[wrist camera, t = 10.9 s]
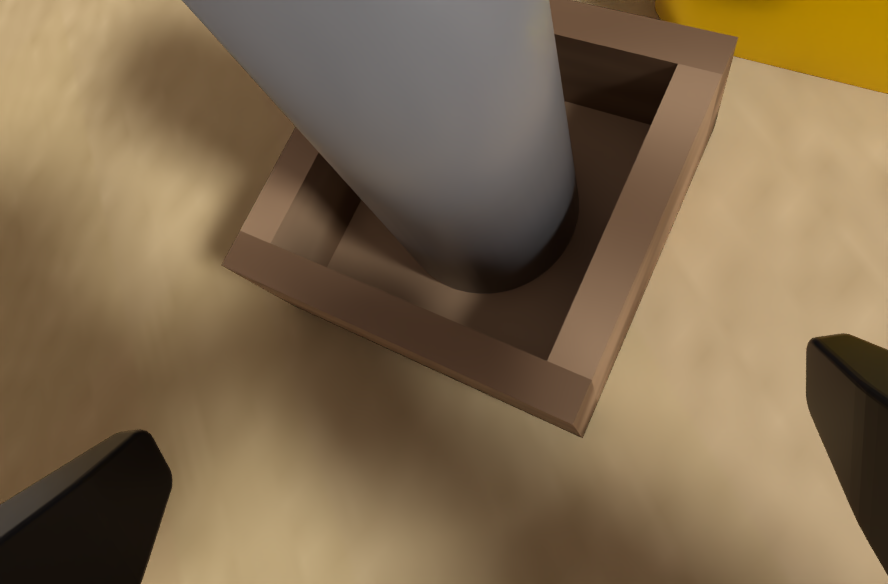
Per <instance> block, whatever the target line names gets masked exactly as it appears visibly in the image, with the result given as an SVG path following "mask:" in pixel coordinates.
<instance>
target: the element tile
mask: <svg viewBox="0 0 888 584" xmlns="http://www.w3.org/2000/svg"><path fill="white" fill-rule="evenodd" d="M655 10H656V12H657V14H658V15H659V17H660V19H661V20H662V21H667V22H671V23H676V24H681V25H685V26H690V27H694V28H699V29H703V30H708V31H712V32H717V33H721V34H726V35H731V36H735V37H738V40H737V44H736V48H735V51H734V55H733V56H736V57H740V58H744V59H748V60H752V61H756V62H760V63H764V64H768V65H772V66H776V67H780V68H784V69H789V70H793V71H797V72H801V73H805V74H809V75H813V76H817V77H821V78H825V79H829V80H833V81H837V82H842V83H846V84H850V85H854V86H858V87H862V88H866V89H870V90H874V91H878V92H882V93H886V94H888V0H655Z"/></svg>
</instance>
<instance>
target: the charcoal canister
mask: <svg viewBox="0 0 888 584" xmlns="http://www.w3.org/2000/svg"><path fill="white" fill-rule="evenodd" d="M182 1H183V2H184V3H185V4H186V5H187V6H188V7H189V8H190V10H191V11H192V12H193V13H194V14H195V15H196V16H197V17H198V18H199V20H200V21H201V22H202V23H203V24H204V25H205V26H206V27H207V28H208V30H209V31H210V32H211V33H212V34H213V35H214V36H215V37H216V38H217V40H218V41H219V42H220V43H221V44H222V45H223V46H224V47H225V49H226V50H227V51H228V52H229V53H230V54H231V55H232V56H233V57H234V59H235V60H236V61H237V62H238V63H239V64H240V65H241V66H242V67H243V69H244V70H245V71H246V72H247V73H248V74H249V75H250V76H251V77H252V79H253V80H254V81H255V82H256V83H257V84H258V85H259V86H260V87H261V89H262V90H263V91H264V92H265V93H266V94H267V95H268V96H269V97H270V99H271V100H272V101H273V102H274V103H275V104H276V105H277V106H278V107H279V109H280V110H281V111H282V112H283V113H284V114H285V115H286V116H287V117H288V119H289V120H290V121H291V122H292V123H293V124H294V125H295V126H296V127H297V129H298V130H299V131H300V132H301V133H302V134H303V135H304V136H305V137H306V139H307V140H308V141H309V142H310V143H311V144H312V145H313V146H314V147H315V149H316V150H317V151H318V152H319V153H320V154H321V155H322V156H323V157H324V159H325V160H326V161H327V162H328V163H329V164H330V165H331V166H332V167H333V169H334V170H335V171H336V172H337V173H338V174H339V175H340V176H341V177H342V179H343V180H344V181H345V182H346V183H347V184H348V185H349V186H350V187H351V189H352V190H353V191H354V192H355V193H356V194H357V195H358V196H359V197H360V199H361V200H362V201H363V202H364V203H365V204H366V205H367V206H368V207H369V209H370V210H371V211H372V212H373V213H374V214H375V215H376V216H377V217H378V219H379V220H380V221H381V222H382V223H383V224H384V225H385V226H386V227H387V229H388V230H389V231H390V232H391V233H392V234H393V235H394V236H395V237H396V239H397V240H398V241H399V242H400V243H401V244H402V245H403V246H404V247H405V249H406V250H407V251H408V252H409V253H410V254H411V255H412V256H413V257H414V259H415V260H416V261H417V262H418V263H419V264H420V265H421V266H422V267H423V268H424V269H425V270H426V271H427V273H428V274H430V275H431V276H432V277H434V278H435V279H436V280H438V281H439V282H441V283H443V284H445V285H446V286H449V287H451V288H454V289H456V290H460V291H464V292H469V293H478V294H491V293H498V292H504V291H508V290H511V289H515V288H517V287H520V286H522V285H525V284H527V283H529V282H530V281H532V280H534V279H536V278H537V277H539V276H540V275H541V274H543V273H544V272H545V271H547V270H548V269H549V268H550V267H551V266H552V265H553V264H554V263H555V262H556V261H557V260H558V258H559V257H560V256H561V255H562V253H563V252H564V250H565V249H566V247H567V245H568V244H569V242H570V240H571V238H572V235H573V233H574V230H575V227H576V224H577V219H578V212H579V196H578V189H577V182H576V176H575V169H574V162H573V156H572V149H571V142H570V136H569V129H568V122H567V116H566V109H565V102H564V96H563V89H562V82H561V76H560V69H559V62H558V56H557V49H556V42H555V36H554V29H553V22H552V16H551V9H550V2H549V0H182Z"/></svg>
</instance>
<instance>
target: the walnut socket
mask: <svg viewBox="0 0 888 584" xmlns="http://www.w3.org/2000/svg"><path fill="white" fill-rule="evenodd" d="M549 2H550V9H551V16H552V22H553V29H554V36H555V42H556V49H557V56H558V62H559V69H560V76H561V82H562V89H563V96H564V102H565V109H566V116H567V122H568V129H569V136H570V142H571V149H572V156H573V162H574V169H575V176H576V182H577V189H578V196H579V212H578V219H577V224H576V227H575V230H574V233H573V235H572V238H571V240H570V242H569V244H568V245H567V247H566V249H565V250H564V252H563V253H562V255H561V256H560V257H559V258H558V260H557V261H556V262H555V263H554V264H553V265H552V266H551V267H550V268H549V269H548V270H547V271H545V272H544V273H543V274H541V275H540V276H539V277H537V278H536V279H534V280H532V281H530V282H529V283H527V284H525V285H522V286H520V287H517V288H515V289H511V290H508V291H504V292H498V293H491V294H478V293H469V292H464V291H460V290H456V289H454V288H451V287H449V286H446V285H445V284H443V283H441V282H439V281H438V280H436V279H435V278H434V277H432V276H431V275H430V274H428V273H427V271H426V270H425V269H424V268H423V267H422V266H421V265H420V264H419V263H418V262H417V261H416V260H415V259H414V257H413V256H412V255H411V254H410V253H409V252H408V251H407V250H406V249H405V247H404V246H403V245H402V244H401V243H400V242H399V241H398V240H397V239H396V237H395V236H394V235H393V234H392V233H391V232H390V231H389V230H388V229H387V227H386V226H385V225H384V224H383V223H382V222H381V221H380V220H379V219H378V217H377V216H376V215H375V214H374V213H373V212H372V211H371V210H370V209H369V207H368V206H367V205H366V204H365V203H364V202H363V201H362V200H361V199H360V197H359V196H358V195H357V194H356V193H355V192H354V191H353V190H352V189H351V187H350V186H349V185H348V184H347V183H346V182H345V181H344V180H343V179H342V177H341V176H340V175H339V174H338V173H337V172H336V171H335V170H334V169H333V167H332V166H331V165H330V164H329V163H328V162H327V161H326V160H325V159H324V157H323V156H322V155H321V154H320V153H319V152H318V151H317V150H316V149H315V147H314V146H313V145H312V144H311V143H310V142H309V141H308V140H307V139H306V137H305V136H304V135H303V134H302V133H301V132H300V131H299V130H298V129H297V127H295V129H294V131H293V133H292V135H291V137H290V138H289V140H288V142H287V144H286V146H285V148H284V150H283V151H282V153H281V155H280V157H279V159H278V161H277V163H276V164H275V166H274V168H273V170H272V172H271V174H270V176H269V177H268V179H267V181H266V183H265V185H264V187H263V189H262V191H261V192H260V194H259V196H258V198H257V200H256V202H255V204H254V205H253V207H252V209H251V211H250V213H249V215H248V217H247V218H246V220H245V222H244V224H243V226H242V228H241V230H240V231H239V233H238V235H237V237H236V239H235V241H234V243H233V244H232V246H231V248H230V250H229V252H228V254H227V256H226V257H225V259H224V261H223V263H222V266H224V267H226V268H227V269H229V270H231V271H233V272H235V273H236V274H238V275H240V276H242V277H243V278H245V279H247V280H249V281H251V282H252V283H254V284H256V285H258V286H260V287H261V288H263V289H265V290H267V291H269V292H270V293H272V294H274V295H276V296H278V297H279V298H281V299H283V300H285V301H287V302H288V303H290V304H292V305H294V306H296V307H298V308H300V309H302V310H305V311H307V312H309V313H311V314H313V315H316V316H318V317H320V318H322V319H324V320H326V321H329V322H331V323H333V324H335V325H337V326H340V327H342V328H344V329H346V330H348V331H350V332H353V333H355V334H357V335H359V336H361V337H364V338H366V339H368V340H370V341H372V342H374V343H377V344H379V345H381V346H383V347H385V348H387V349H390V350H392V351H394V352H396V353H398V354H401V355H403V356H405V357H407V358H409V359H411V360H414V361H416V362H418V363H420V364H422V365H425V366H427V367H429V368H431V369H433V370H435V371H438V372H440V373H442V374H444V375H446V376H449V377H451V378H453V379H455V380H457V381H459V382H462V383H464V384H466V385H468V386H470V387H473V388H475V389H477V390H479V391H481V392H483V393H486V394H488V395H490V396H492V397H494V398H496V399H499V400H501V401H503V402H505V403H507V404H510V405H512V406H514V407H516V408H518V409H520V410H523V411H525V412H527V413H529V414H531V415H534V416H536V417H538V418H540V419H542V420H544V421H547V422H549V423H551V424H553V425H555V426H558V427H560V428H562V429H564V430H566V431H568V432H571V433H573V434H575V435H577V436H579V437H582V438H583V436H584V433H585V431H586V429H587V426H588V424H589V422H590V419H591V417H592V415H593V412H594V410H595V408H596V405H597V403H598V400H599V398H600V396H601V393H602V391H603V389H604V386H605V384H606V382H607V379H608V377H609V374H610V372H611V370H612V367H613V365H614V363H615V360H616V358H617V356H618V353H619V351H620V349H621V346H622V344H623V341H624V339H625V337H626V334H627V332H628V330H629V327H630V325H631V323H632V320H633V318H634V315H635V313H636V311H637V308H638V306H639V304H640V301H641V299H642V297H643V294H644V292H645V289H646V287H647V285H648V282H649V280H650V278H651V275H652V273H653V271H654V268H655V266H656V264H657V261H658V259H659V256H660V254H661V252H662V249H663V247H664V245H665V242H666V240H667V238H668V235H669V233H670V230H671V228H672V226H673V223H674V221H675V219H676V216H677V214H678V212H679V209H680V207H681V205H682V202H683V200H684V197H685V195H686V193H687V190H688V188H689V186H690V183H691V181H692V179H693V176H694V174H695V171H696V169H697V167H698V164H699V162H700V160H701V157H702V155H703V153H704V150H705V148H706V145H707V143H708V141H709V138H710V136H711V134H712V131H713V129H714V126H715V122H716V119H717V115H718V111H719V108H720V104H721V100H722V96H723V93H724V89H725V85H726V81H727V78H728V74H729V70H730V66H731V63H732V59H733V55H734V51H735V48H736V44H737V40H738V37H735V36H731V35H726V34H721V33H717V32H712V31H708V30H703V29H699V28H694V27H690V26H685V25H681V24H676V23H671V22H667V21H662V20H658V19H653V18H649V17H644V16H640V15H635V14H631V13H626V12H621V11H617V10H612V9H608V8H603V7H599V6H594V5H590V4H585V3H581V2H576V1H571V0H549Z"/></svg>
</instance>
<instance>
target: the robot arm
mask: <svg viewBox="0 0 888 584" xmlns="http://www.w3.org/2000/svg"><path fill="white" fill-rule="evenodd" d="M806 399H807V404H808V408H809V411H810V414H811V417H812V419H813V421H814V423H815V426H816V428H817V430H818V433H819V435H820V437H821V440H822V442H823V444H824V447H825V449H826V451H827V454H828V456H829V458H830V460H831V463H832V465H833V467H834V470H835V472H836V474H837V477H838V479H839V481H840V484H841V486H842V488H843V491H844V493H845V495H846V498H847V500H848V502H849V504H850V507H851V509H852V511H853V513H854V515H855V518H856V520H857V522H858V524H859V526H860V528H861V529H862V531H863V533H864V535H865V537H866V539H867V540H868V542H869V544H870V546H871V547H872V549H873V551H874V553H875V554H876V556H877V558H878V559H879V561H880V563H881V565H882V566H883V568H884V570H885V571H886V573H887V575H888V350H887V349H884V348H882V347H879V346H877V345H875V344H872V343H870V342H867V341H865V340H862V339H860V338H857V337H855V336H852V335H850V334H835V335H828V336H821V337H815V338H812V339H811V340H810V341H809V342H808V345H807V350H806ZM171 488H172V474H171V470H170V468H169V466H168V464H167V463H166V461H165V459H164V457H163V455H162V453H161V452H160V450H159V448H158V446H157V444H156V442H155V440H154V439H153V437H152V435H151V434H150V433H148V432H147V431H145V430H141V429H140V430H132V431H125V432H119V433H116V434H114V435H112V436H111V437H109V438H108V439H106V440H104V441H103V442H101V443H99V444H98V445H96V446H95V447H93V448H91V449H90V450H88V451H86V452H85V453H83V454H82V455H80V456H78V457H77V458H75V459H73V460H72V461H70V462H69V463H67V464H65V465H64V466H62V467H60V468H59V469H57V470H56V471H54V472H52V473H51V474H49V475H47V476H46V477H44V478H43V479H41V480H39V481H38V482H36V483H34V484H33V485H31V486H30V487H28V488H26V489H25V490H23V491H21V492H20V493H18V494H17V495H15V496H13V497H12V498H10V499H8V500H7V501H5V502H4V503H2V504H0V584H141V582H142V579H143V576H144V573H145V570H146V567H147V564H148V561H149V558H150V555H151V552H152V548H153V545H154V542H155V539H156V536H157V533H158V530H159V526H160V523H161V520H162V517H163V514H164V511H165V508H166V504H167V501H168V498H169V495H170V492H171Z"/></svg>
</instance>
